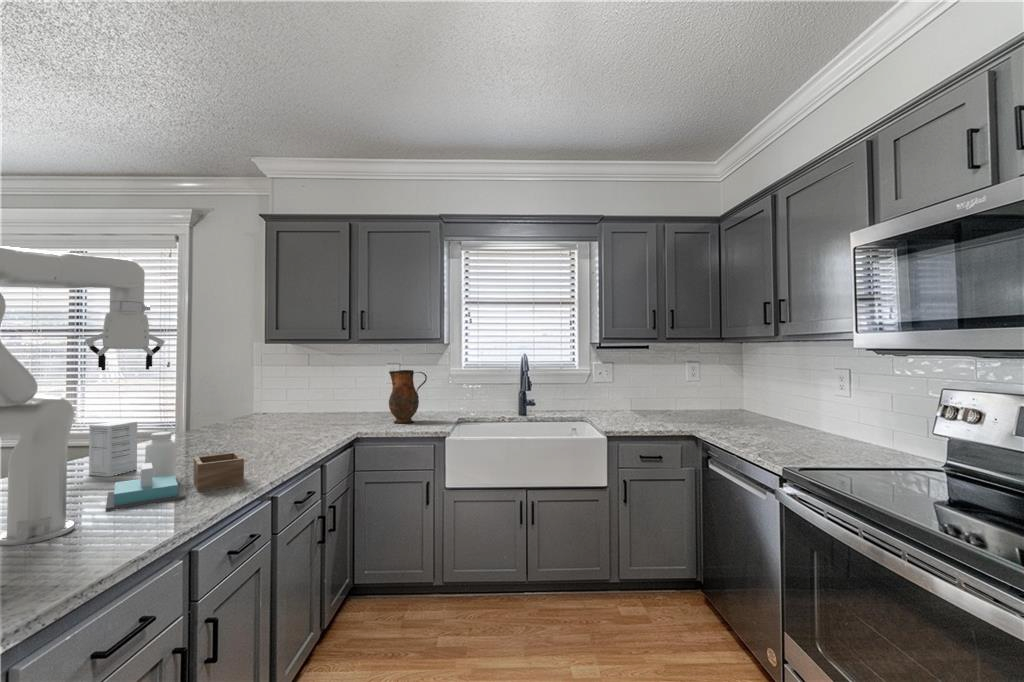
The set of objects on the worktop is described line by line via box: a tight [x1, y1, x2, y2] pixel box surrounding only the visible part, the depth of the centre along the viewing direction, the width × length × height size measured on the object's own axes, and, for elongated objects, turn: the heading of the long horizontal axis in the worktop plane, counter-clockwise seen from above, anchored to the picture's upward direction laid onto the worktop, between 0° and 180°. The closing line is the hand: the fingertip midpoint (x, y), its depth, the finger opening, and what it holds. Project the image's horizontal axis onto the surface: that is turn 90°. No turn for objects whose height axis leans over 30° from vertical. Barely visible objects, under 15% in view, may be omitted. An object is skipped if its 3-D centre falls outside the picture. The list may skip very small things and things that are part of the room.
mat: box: [105, 482, 186, 512], centre depth 135 cm, size 17×17×1 cm
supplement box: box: [88, 420, 138, 478], centre depth 160 cm, size 10×9×17 cm
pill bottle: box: [144, 431, 177, 477], centre depth 152 cm, size 8×8×15 cm
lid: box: [113, 462, 178, 505], centre depth 135 cm, size 14×14×8 cm
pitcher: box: [388, 369, 428, 425], centre depth 271 cm, size 17×21×30 cm
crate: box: [192, 451, 245, 492], centre depth 149 cm, size 12×12×8 cm
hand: (125, 369), depth 133 cm, fingers open, 9 cm apart
